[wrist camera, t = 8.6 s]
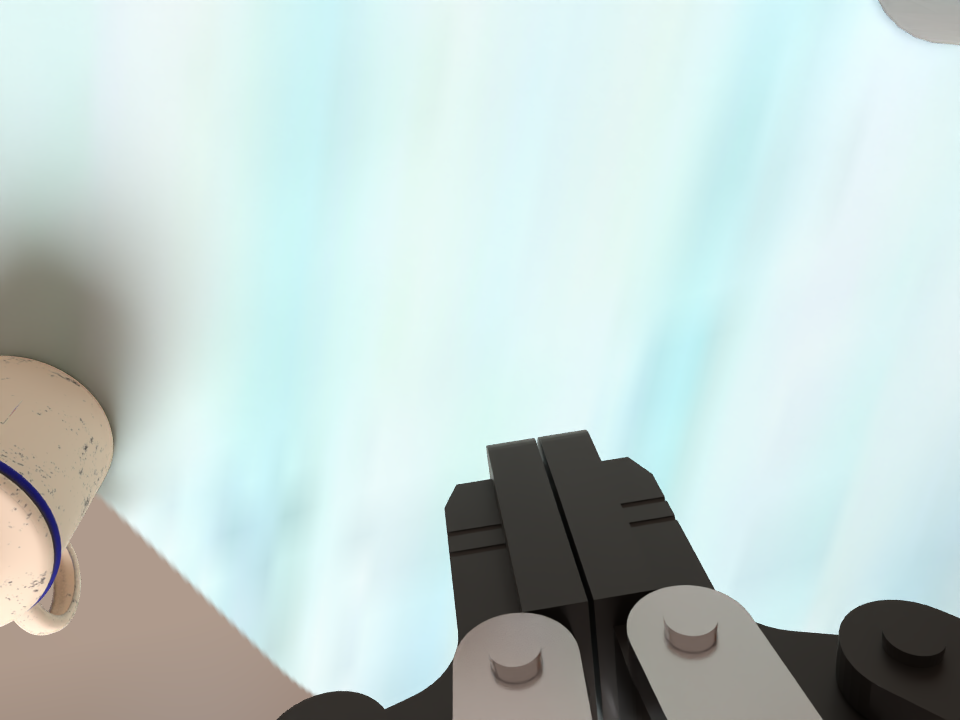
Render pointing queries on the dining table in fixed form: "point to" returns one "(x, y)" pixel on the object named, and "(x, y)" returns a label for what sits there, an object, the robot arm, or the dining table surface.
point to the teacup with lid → (45, 488)
